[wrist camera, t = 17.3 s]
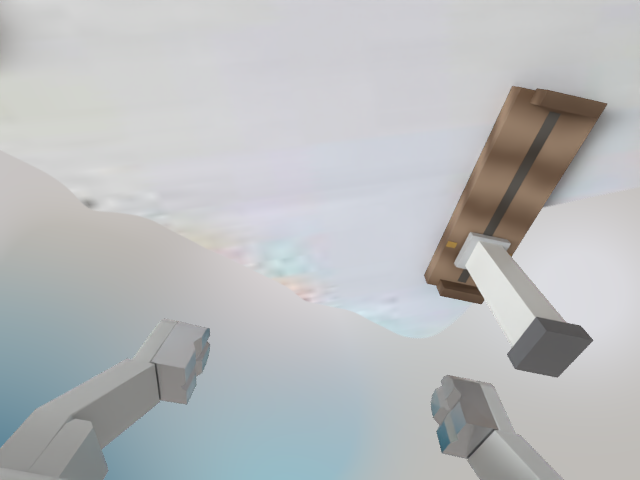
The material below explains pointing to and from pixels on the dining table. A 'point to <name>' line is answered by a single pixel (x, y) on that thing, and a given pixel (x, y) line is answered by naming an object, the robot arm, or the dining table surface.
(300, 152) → the dining table surface
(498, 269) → the fader knob
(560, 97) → the fader console
